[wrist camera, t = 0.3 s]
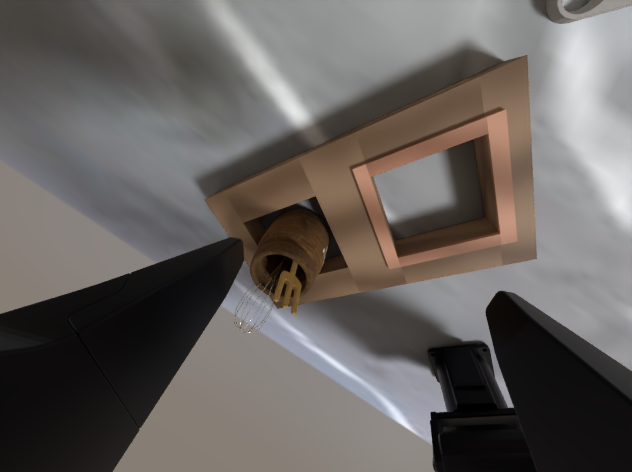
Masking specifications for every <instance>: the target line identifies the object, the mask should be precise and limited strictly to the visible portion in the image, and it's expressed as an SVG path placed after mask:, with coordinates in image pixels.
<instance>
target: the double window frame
mask: <svg viewBox="0 0 632 472" xmlns="http://www.w3.org/2000/svg"><path fill="white" fill-rule="evenodd" d="M472 139H473V141H474V148H475V154H476V161H477V168H478V175H479V182H480V189H481V196H482V203H483V210H484V216H485V218H481V219H478V220H474V221H470V222H466V223H462V224H458V225H455V226H451V227H447V228H443V229H439V230H435V231H431V232H428V233H424V234H420V235H416V236H412V237H408V238H404V239H401V240H397V241H394V238H393V235H392V232H391V229H390V226H389V223H388V220H387V217H386V214H385V211H384V208H383V205H382V202H381V199H380V196H379V193H378V190H377V187H376V184H375V181H374V178H373V176H375V175H377V174H380V173H383V172H386V171H388V170H391V169H394V168H396V167H399V166H402V165H405V164H407V163H410V162H413V161H415V160H418V159H421V158H424V157H426V156H429V155H432V154H434V153H437V152H440V151H443V150H445V149H448V148H451V147H453V146H456V145H459V144H462V143H464V142H467V141H470V140H472ZM315 196H316V198H317V200H318V202H319V204H320V206H321V209H322V211H323V213H324V215H325V217H326V220H327V222H328V224H329V226H330V228H331V230H332V233H333V235H334V237H335V239H336V241H337V244H338V246H339V248H340V250H341V252H342V255H339V256H335V257H331V258H327V259H325V260H324V263H323V266H322V268H321V271H320V273H319V274H318V276H317V277H316V278H315V281H314V283H313V285H312V287H311V288H310V290H309V291H308V292H307V293H306V294H305V295H304V296H303V297H301V298H299V302H298V305H299V304H304V303H310V302H315V301H320V300H325V299H330V298H336V297H341V296H346V295H351V294H356V293H362V292H367V291H372V290H377V289H382V288H388V287H393V286H398V285H403V284H408V283H414V282H419V281H424V280H429V279H434V278H440V277H445V276H450V275H455V274H460V273H466V272H471V271H476V270H481V269H486V268H492V267H497V266H502V265H507V264H512V263H518V262H523V261H528V260H533V259H537V253H536V231H535V210H534V188H533V167H532V146H531V124H530V103H529V81H528V60H527V55H526V56H522V57H518V58H515V59H511V60H507V61H504V62H502V63H499V64H497V65H495V66H493V67H491V68H488V69H486V70H484V71H482V72H480V73H477V74H475V75H473V76H471V77H468V78H466V79H464V80H462V81H460V82H457V83H455V84H453V85H451V86H449V87H446V88H444V89H442V90H440V91H438V92H435V93H433V94H431V95H429V96H427V97H424V98H422V99H420V100H418V101H416V102H413V103H411V104H409V105H407V106H405V107H402V108H400V109H398V110H396V111H394V112H391V113H389V114H387V115H385V116H382V117H380V118H378V119H376V120H374V121H371V122H369V123H367V124H365V125H363V126H360V127H358V128H356V129H354V130H352V131H349V132H347V133H345V134H343V135H341V136H338V137H336V138H334V139H332V140H330V141H327V142H325V143H323V144H321V145H319V146H316V147H314V148H312V149H310V150H308V151H305V152H303V153H301V154H299V155H296V156H294V157H292V158H290V159H288V160H285V161H283V162H281V163H279V164H277V165H274V166H272V167H270V168H268V169H266V170H263V171H261V172H259V173H257V174H255V175H252V176H250V177H248V178H246V179H244V180H241V181H239V182H237V183H235V184H233V185H230V186H228V187H226V188H224V189H222V190H219V191H218V192H216V193H215V194H213V195H211V196H210V197H208V198H207V199H205V201H206V203H207V204H208V206H209V207H210V209H211V210H212V212H213V213H214V215H215V216H216V218H217V219H218V221H219V222H220V224H221V225H222V227H223V228H224V229H225V231H226V232H227V234H228V235H229V237H234V238H239V239H242V241H243V247H244V259H245V261H246V262H247V264H248V265H249V267H250V265H251V261H252V259H253V256H254V254H255V253H256V251H257V248H258V244H259V242H260V240H261V238H262V237H263V235H264V234H265V232H266V231H265V229H264V228H263V226H262V224H261V222H260V221H259V219H258V217H261V216H263V215H266V214H269V213H271V212H274V211H277V210H280V209H282V208H285V207H288V206H290V205H293V204H296V203H298V202H301V201H304V200H307V199H309V198H312V197H315ZM269 297H270V298H271V300H272V301H274V299H273V297H271V296H269ZM292 303H293V300H289V304H288V307H289V306H292ZM274 304H275V305H276V307H277V308H283V306H282V304H283V300H281V299H279V301H278V302H275V301H274Z"/></svg>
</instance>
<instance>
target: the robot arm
mask: <svg viewBox="0 0 632 472" xmlns="http://www.w3.org/2000/svg"><path fill="white" fill-rule="evenodd" d="M243 261H244V247H243V241H242V239H239V238H234V237H230V238H227V239H224V240H221V241H219V242H216V243H213V244H210V245H207V246H204V247H202V248H199V249H196V250H193V251H190V252H188V253H185V254H182V255H179V256H176V257H174V258H171V259H168V260H165V261H162V262H159V263H157V264H154V265H151V266H148V267H146V268H143V269H140V270H137V271H134V272H132V273H131V274H125V275H123V276H120V277H117V278H114V279H111V280H109V281H105V282H102V283H100V284H97V285H94V286H90V287H87V288H84V289H81V290H78V291H75V292H71V293H68V294H65V295H61V296H58V297H55V298H51V299H48V300H45V301H42V302H38V303H35V304H32V305H28V306H25V307H22V308H18V309H15V310H12V311H9V312H5V313H2V314H0V472H113V470H114V469H115V467H116V466H117V464H118V462H119V461H120V459H121V458H122V456H123V455H124V453H125V451H126V450H127V449H128V447H129V445H130V444H131V442H132V441H133V439H134V438H135V436H136V435H137V433H138V432H139V428H140V427H142V425H143V423H144V422H145V420H146V419H147V417H148V416H149V414H150V413H151V411H152V410H153V408H154V407H155V405H156V404H157V402H158V400H159V399H160V397H161V396H162V394H163V393H164V391H165V390H166V388H167V387H168V385H169V384H170V382H171V380H172V379H173V377H174V376H175V374H176V373H177V371H178V370H179V368H180V367H181V365H182V363H183V362H184V360H185V359H186V357H187V356H188V354H189V353H190V351H191V350H192V348H193V347H194V345H195V344H196V342H197V340H198V339H199V337H200V336H201V334H202V333H203V331H204V330H205V328H206V327H207V325H208V324H209V322H210V320H211V319H212V317H213V316H214V314H215V313H216V311H217V310H218V308H219V307H220V305H221V304H222V302H223V300H224V299H225V297H226V295H227V294H228V292H229V290H230V288H231V286H232V284H233V282H234V280H235V278H236V276H237V274H238V272H239V270H240V268H241V266H242V264H243ZM486 317H487V322H488V326H489V330H490V334H491V338H492V342H493V346H494V350H495V354H496V358H497V361H498V364H499V367H500V370H501V372H502V375H503V378H504V381H505V383H506V386H507V389H508V392H509V395H510V397H511V400H512V403H513V406H514V408H508V406H507V404H506V402H505V400H504V397H503V395H502V393H501V391H500V389H499V386H498V384H497V382H496V380H495V375H494V370H493V365H492V359H491V354H490V349H489V347H488V345H486V344H479V345H468V346H457V347H447V348H436V349H429V350H428V351H427V352H428V356H429V359H430V362H431V365H432V367H433V370H434V373H435V376H436V379H437V381H438V382H439V383H440V385H441V389H442V393H443V397H444V401H445V405H446V409H447V412H439V413H436V412H431V420H430V424H431V434H432V444H433V467H434V471H435V472H632V371H631V370H629V369H628V368H626V367H625V366H623V365H622V364H620V363H619V362H617V361H616V360H614V359H613V358H611V357H610V356H608V355H607V354H605V353H604V352H602V351H601V350H599V349H598V348H596V347H595V346H593V345H592V344H590V343H589V342H587V341H586V340H584V339H583V338H581V337H580V336H578V335H577V334H575V333H574V332H572V331H571V330H569V329H568V328H566V327H565V326H563V325H562V324H560V323H559V322H557V321H556V320H554V319H553V318H551V317H550V316H548V315H547V314H545V313H544V312H542V311H541V310H539V309H538V308H536V307H534V306H533V305H531V304H530V303H528V302H527V301H525V300H524V299H522V298H521V297H519V296H518V295H516V294H515V293H511V292H506V291H499V292H497V293H496V294H495V296H494V297H493V299H492V300H491V302H490V303H489V305H488V306H487V308H486Z"/></svg>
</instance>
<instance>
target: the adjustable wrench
mask: <svg viewBox="0 0 632 472" xmlns="http://www.w3.org/2000/svg"><path fill="white" fill-rule="evenodd" d="M631 5H632V0H590V1H589V2H588V3H587V4H586V5H585V6H583V7H582V8H580V9H578V10H576V11H570V12H569V11H566V10H565V9H564V7H563V4H562V0H547V1H546V12H547V15H548V17H549V18H550V19H551V20H552V21H553V22H555V23H558V24H565V23H571V22H574V21H578V20H581V19H585V18H589V17H592V16H596V15H599V14H603V13H606V12H610V11H614V10H617V9H621V8H624V7H628V6H631Z"/></svg>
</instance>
